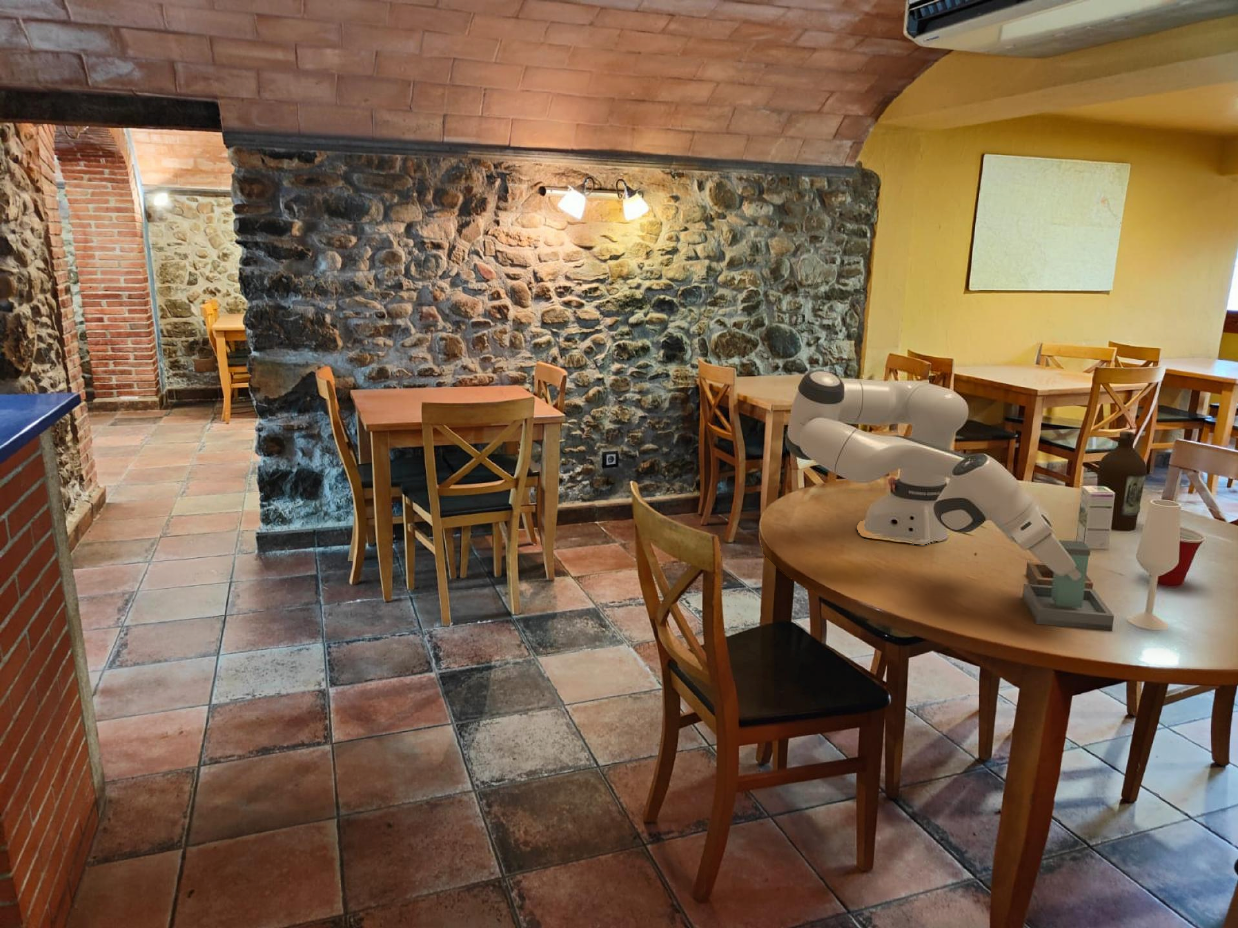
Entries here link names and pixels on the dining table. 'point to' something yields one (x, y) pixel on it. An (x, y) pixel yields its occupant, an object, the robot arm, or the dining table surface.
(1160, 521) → the champagne flute
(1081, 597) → the pin
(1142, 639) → the dining table surface
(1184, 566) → the plastic cup
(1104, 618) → the grey tray
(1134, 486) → the olive oil
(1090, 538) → the syrup box
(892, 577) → the dining table surface
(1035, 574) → the walnut collar
